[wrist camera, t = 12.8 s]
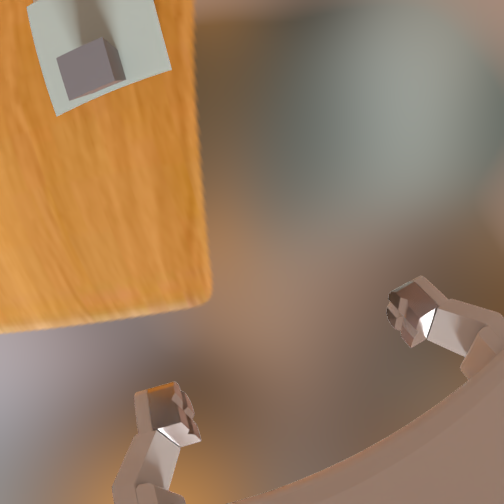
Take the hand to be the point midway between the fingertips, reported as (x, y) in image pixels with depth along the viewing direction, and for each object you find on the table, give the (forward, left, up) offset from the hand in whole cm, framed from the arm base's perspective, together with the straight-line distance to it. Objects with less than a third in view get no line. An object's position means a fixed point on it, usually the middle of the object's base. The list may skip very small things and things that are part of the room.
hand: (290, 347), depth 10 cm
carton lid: (-5, +15, -23) cm, 28 cm away
